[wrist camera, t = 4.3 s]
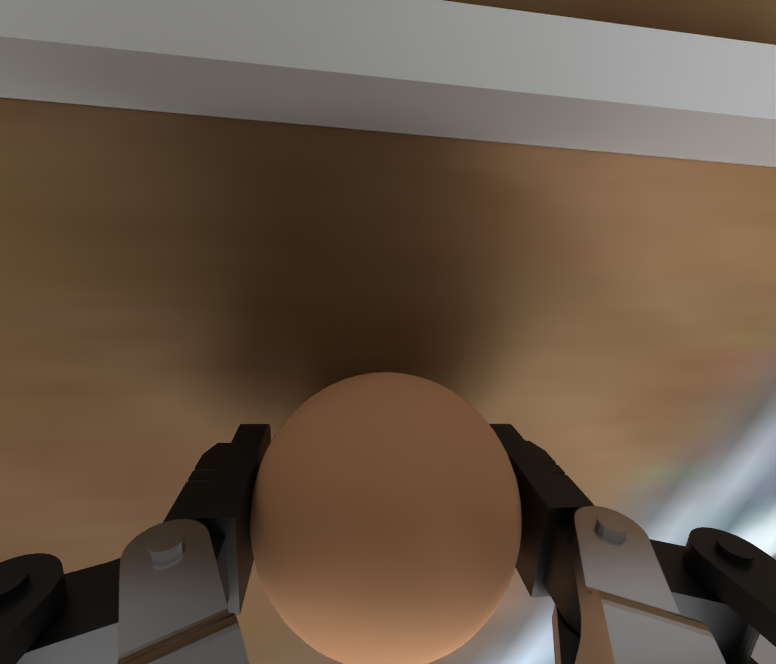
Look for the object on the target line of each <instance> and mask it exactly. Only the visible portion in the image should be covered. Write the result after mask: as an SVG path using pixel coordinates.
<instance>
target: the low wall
mask: <svg viewBox="0 0 776 664" xmlns="http://www.w3.org/2000/svg"><path fill="white" fill-rule="evenodd" d="M0 97H3V98H14V99H26V100H37V101H48V102H59V103H70V104H81V105H92V106H103V107H114V108H125V109H137V110H148V111H159V112H170V113H181V114H192V115H203V116H214V117H225V118H237V119H248V120H259V121H270V122H281V123H292V124H303V125H314V126H325V127H336V128H348V129H359V130H370V131H381V132H392V133H403V134H414V135H425V136H436V137H447V138H459V139H470V140H481V141H492V142H503V143H514V144H525V145H536V146H547V147H559V148H570V149H581V150H592V151H603V152H614V153H625V154H636V155H647V156H658V157H670V158H681V159H692V160H703V161H714V162H725V163H736V164H747V165H758V166H769V167H776V45H772V44H764V43H757V42H749V41H742V40H734V39H727V38H720V37H712V36H705V35H697V34H690V33H682V32H675V31H667V30H660V29H653V28H645V27H638V26H630V25H623V24H615V23H608V22H600V21H593V20H586V19H578V18H571V17H563V16H556V15H548V14H541V13H533V12H526V11H519V10H511V9H504V8H496V7H489V6H481V5H474V4H466V3H459V2H452V1H444V0H0Z"/></svg>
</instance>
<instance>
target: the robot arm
mask: <svg viewBox="0 0 776 664" xmlns="http://www.w3.org/2000/svg"><path fill="white" fill-rule="evenodd" d="M489 425H490V426H491V427H492V429H493V430H494V431H495V433H496V435H497V436H498V438H499V440H500V442H501V443H502V445H503V447H504V449H505V450H506V452H507V454H508V457H509V460H510V462H511V465H512V468H513V471H514V473H515V476H516V480H517V485H518V489H519V495H520V501H521V513H522V530H521V542H520V549H519V553H518V557H517V562H516V566H515V567H516V569H517V571H518V572H519V574H520V576H521V578H522V580H523V582H524V584H525V586H526V588H527V590H528V592H529V594H530V596H531V597H544V596H551V597H552V599H553V601H554V603H555V606H554V611H553V615H552V626H553V640H554V654H555V664H758V663H757V662H756V661H755V660H754V659H753V658H751V655H752V652H753V650H754V647H755V645H756V642H757V640H758V637H759V635H760V634H761V635H762V636H764V637H765V638H766V639H767V640H768V641H769V642H771V643H772V644H773V645H774V646H775V647H776V560H775V559H774V558H772V557H771V556H769V555H768V554H766V553H765V552H763V551H762V550H760V549H759V548H758V547H756V546H754V545H753V544H751V543H749V542H748V541H746V540H744V539H742V538H740V537H738V536H736V535H733V534H731V533H728V532H725V531H722V530H718V529H714V528H706V527H701V528H696V529H693V530H692V531H691V532H690V535H689V538H688V541H687V544H686V547H685V546H680V545H675V544H670V543H665V542H660V541H655V540H651V539H649V538H648V536H647V534H646V533H645V531H644V530H643V529H642V528H641V527H640V526H639V525H638V524H636V523H635V522H634V521H633V520H631V519H630V518H628V517H626V516H625V515H623V514H621V513H619V512H616V511H614V510H611V509H608V508H604V507H599V506H594V504H593V503H592V502H591V501H590V500H589V499H588V498H587V497H586V496H585V494H584V493H583V492H582V491H581V490H580V489H579V488H578V487H577V486H576V484H575V483H574V482H573V481H572V480H571V479H570V478H569V477H568V476H567V475H565V472H564V471H563V470H562V469H561V468H560V467H559V466H558V465H556V462H555V461H554V460H553V459H552V458H551V457H550V456H549V455H548V453H547V452H546V451H545V450H543V449H541V448H540V447H538V446H537V445H535V444H533V443H532V442H530V441H525V440H524V439H523V438H522V436H521V435H520V434H519V433H518V432H517V431H516V429H515V428H514V427H513V426H512V425H511V424H489ZM270 443H271V430H270V425H269V424H240V426H239V428H238V430H237V432H236V434H235V436H234V438H233V440H232V442H231V443H217V444H216V445H215V446H213V447H212V448H211V449H209V450H208V451H207V452H205V453H204V454H203V455H202V457H201V458H200V460H199V462H198V463H197V465H196V467H195V471H193V472H192V474H191V475H190V477H189V479H188V482H186V484H185V486H184V487H183V489H182V491H181V492H180V494H179V496H178V498H177V499H176V501H175V503H174V504H173V506H172V508H171V510H170V511H169V513H168V515H167V516H166V518H165V520H164V522H163V523H160V524H157V525H155V526H153V527H151V528H149V529H147V530H145V531H143V532H142V533H141V534H139V535H138V536H136V537H135V538H134V539H133V540H132V541H131V542H130V543H129V544H128V545H127V546H126V548H125V550H124V551H123V553H122V556H121V558H119V559H116V560H114V561H110V562H107V563H104V564H100V565H97V566H93V567H89V568H86V569H82V570H78V571H75V572H71V573H67V574H64V572H63V567H62V563H61V561H60V559H58V558H57V557H56V556H53V555H50V554H44V553H36V554H28V555H23V556H18V557H15V558H12V559H9V560H6V561H3V562H1V563H0V664H249V660H248V656H247V653H246V649H245V645H244V642H243V638H242V634H241V630H240V627H239V623H238V620H237V617H236V615H240V612H241V608H242V604H243V600H244V596H245V592H246V588H247V584H248V580H249V576H250V573H251V569H252V565H253V561H254V556H253V550H252V544H251V536H250V515H251V501H252V494H253V490H254V485H255V480H256V475H257V472H258V470H259V467H260V464H261V462H262V459H263V457H264V455H265V452H266V450H267V448H268V447H269V445H270Z"/></svg>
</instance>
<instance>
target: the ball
mask: <svg viewBox="0 0 776 664" xmlns="http://www.w3.org/2000/svg"><path fill="white" fill-rule="evenodd" d="M521 530H522V513H521V501H520V495H519V489H518V485H517V480H516V476H515V473H514V471H513V468H512V465H511V462H510V460H509V457H508V454H507V452H506V450H505V449H504V447H503V445H502V443H501V442H500V440H499V438H498V436H497V435H496V433H495V431H494V430H493V429H492V427H491V426H490V425H489V424H488V422H487V421H486V420H485V419H484V417H483V416H482V415H481V414H480V413H479V412H478V411H477V410H476V409H475V408H474V407H473V406H471V405H470V404H469V403H468V402H467V401H466V400H464V399H463V398H461V397H460V396H459V395H457V394H456V393H454V392H453V391H451V390H450V389H448V388H446V387H444V386H442V385H440V384H438V383H436V382H433V381H431V380H428V379H425V378H422V377H418V376H413V375H408V374H404V373H393V372H379V373H368V374H363V375H357V376H354V377H351V378H347V379H344V380H341V381H339V382H337V383H335V384H332V385H330V386H328V387H326V388H325V389H323V390H321V391H320V392H318V393H316V394H315V395H313V396H312V397H311V398H309V399H308V400H307V401H305V402H304V403H303V404H302V405H300V406H299V407H298V408H297V409H296V410H295V411H294V412H293V413H292V414H291V415H290V416H289V417H288V419H287V420H286V421H285V423H284V424H283V425H282V427H281V428H280V429H279V431H278V432H277V433H276V435H275V436H274V438H273V439H272V441H271V443H270V445H269V447H268V448H267V450H266V452H265V455H264V457H263V459H262V462H261V464H260V467H259V470H258V472H257V475H256V480H255V485H254V490H253V494H252V501H251V515H250V536H251V544H252V550H253V556H254V561H255V564H256V568H257V571H258V575H259V577H260V579H261V582H262V584H263V587H264V589H265V591H266V593H267V595H268V597H269V599H270V601H271V603H272V604H273V606H274V607H275V608H276V610H277V611H278V613H279V614H280V616H281V617H282V619H283V620H284V621H285V623H286V624H287V625H288V626H289V627H290V628H291V629H292V630H293V631H294V632H295V633H296V634H297V635H298V636H299V637H300V638H301V639H302V640H304V641H305V642H306V643H307V644H308V645H310V646H311V647H312V648H314V649H315V650H317V651H318V652H320V653H322V654H324V655H325V656H327V657H330V658H332V659H334V660H336V661H338V662H341V663H343V664H427V663H430V662H433V661H435V660H437V659H439V658H442V657H444V656H446V655H447V654H449V653H451V652H453V651H455V650H456V649H457V648H459V647H460V646H462V645H463V644H465V643H466V642H467V641H468V640H469V639H470V638H472V637H473V636H474V635H475V634H476V633H477V632H478V631H479V629H480V628H481V627H482V626H483V625H484V624H485V623H486V622H487V620H488V619H489V618H490V617H491V615H492V614H493V613H494V611H495V610H496V609H497V607H498V605H499V603H500V602H501V600H502V598H503V596H504V594H505V592H506V590H507V588H508V586H509V583H510V581H511V578H512V576H513V573H514V569H515V566H516V562H517V557H518V553H519V549H520V542H521Z"/></svg>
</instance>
